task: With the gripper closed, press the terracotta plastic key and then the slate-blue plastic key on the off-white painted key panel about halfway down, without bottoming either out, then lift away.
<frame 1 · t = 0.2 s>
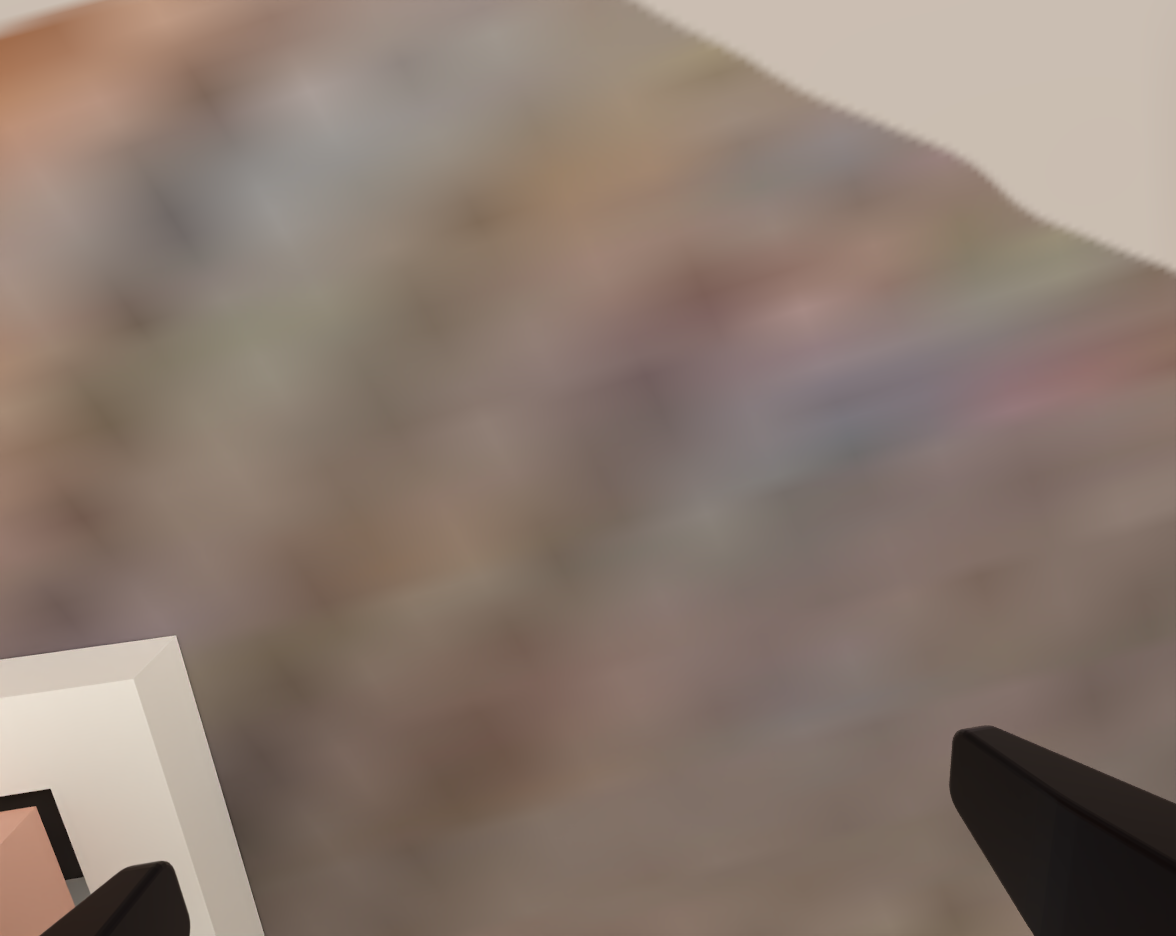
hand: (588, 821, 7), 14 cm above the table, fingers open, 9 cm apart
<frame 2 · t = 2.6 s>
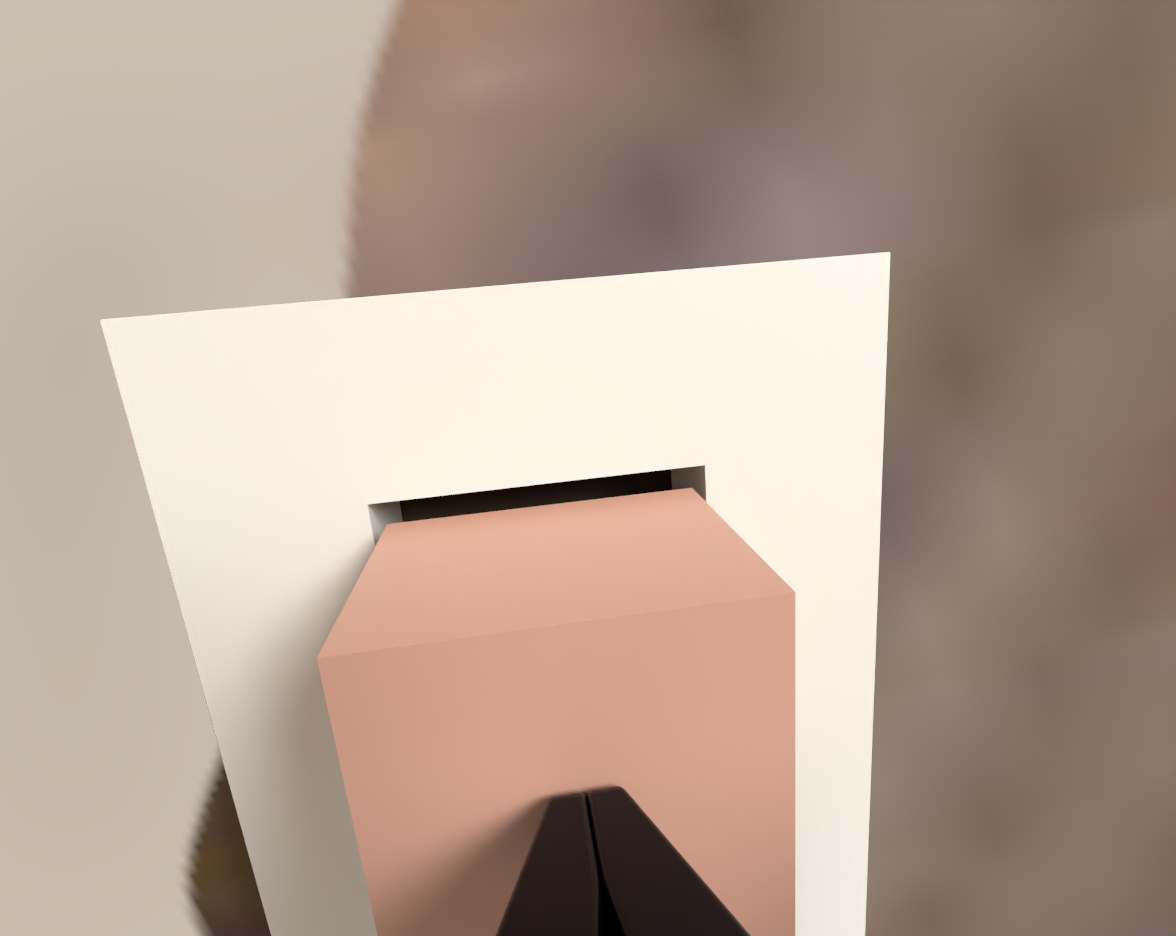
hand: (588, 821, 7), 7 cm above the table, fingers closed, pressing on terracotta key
terracotta key: (568, 712, 9), point 5 cm above the table, slide at 0.1 cm, touching gripper
key panel: (573, 807, 15), on the table
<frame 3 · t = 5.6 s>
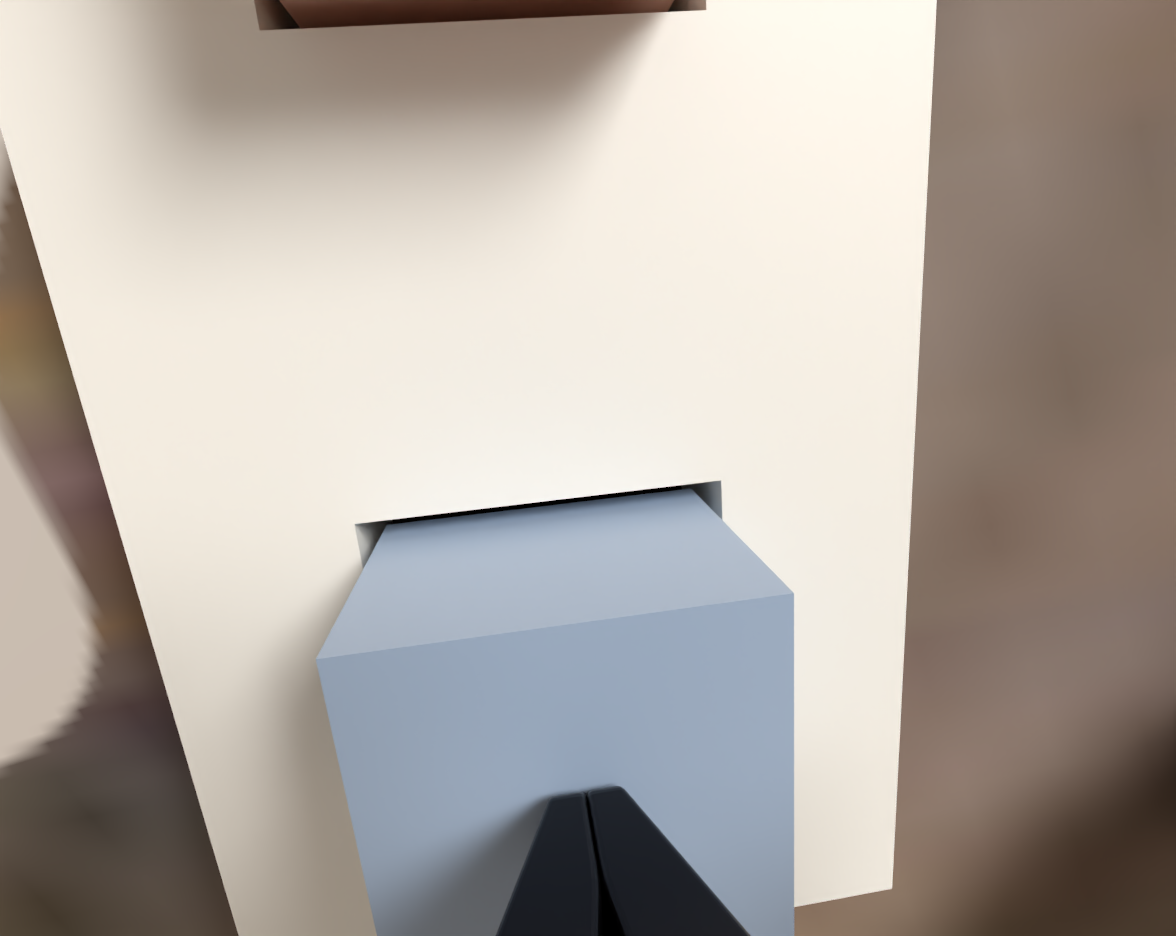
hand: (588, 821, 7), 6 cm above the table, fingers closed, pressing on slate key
slate key: (567, 713, 9), point 4 cm above the table, slide at 1.0 cm, touching gripper
key panel: (516, 286, 11), on the table
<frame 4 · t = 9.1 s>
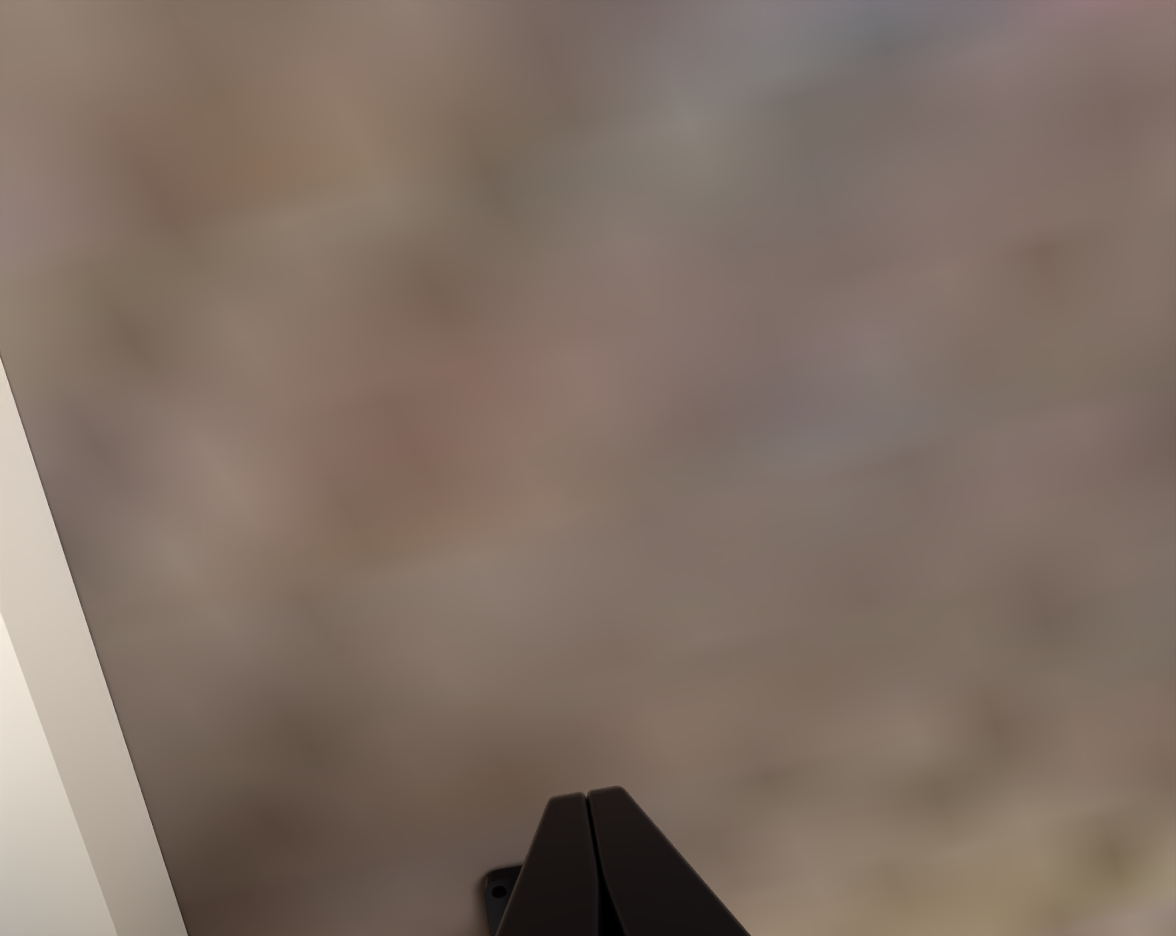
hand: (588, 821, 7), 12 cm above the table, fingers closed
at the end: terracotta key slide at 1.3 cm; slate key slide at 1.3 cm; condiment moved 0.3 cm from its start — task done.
